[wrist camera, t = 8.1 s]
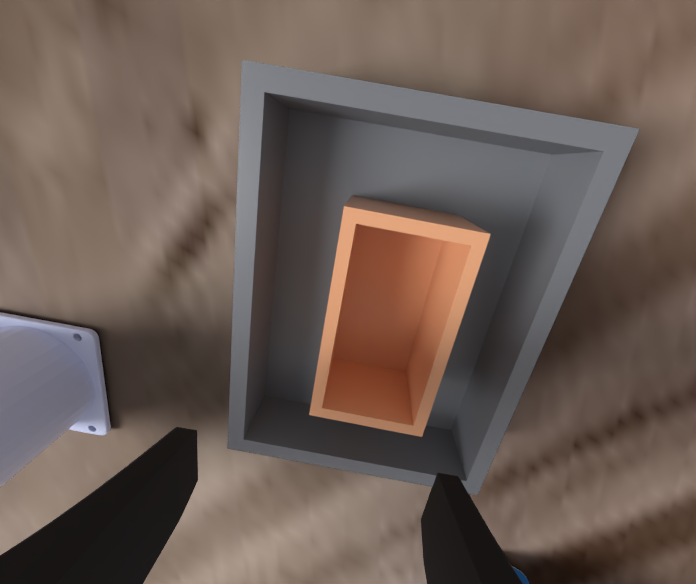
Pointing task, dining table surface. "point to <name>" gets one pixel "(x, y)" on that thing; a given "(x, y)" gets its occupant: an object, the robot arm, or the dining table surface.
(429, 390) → the small crate
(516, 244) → the big crate
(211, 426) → the dining table surface
